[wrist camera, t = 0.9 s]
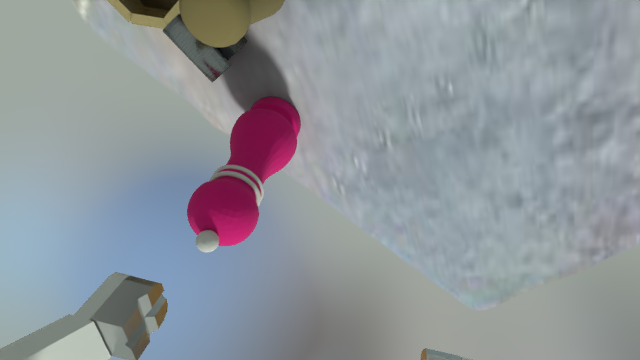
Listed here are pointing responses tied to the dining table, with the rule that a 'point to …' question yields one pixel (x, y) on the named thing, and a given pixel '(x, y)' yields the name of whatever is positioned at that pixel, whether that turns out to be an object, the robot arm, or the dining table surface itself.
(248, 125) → the pepper mill
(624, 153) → the dining table surface
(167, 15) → the coupling collar
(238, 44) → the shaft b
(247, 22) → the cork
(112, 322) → the robot arm
